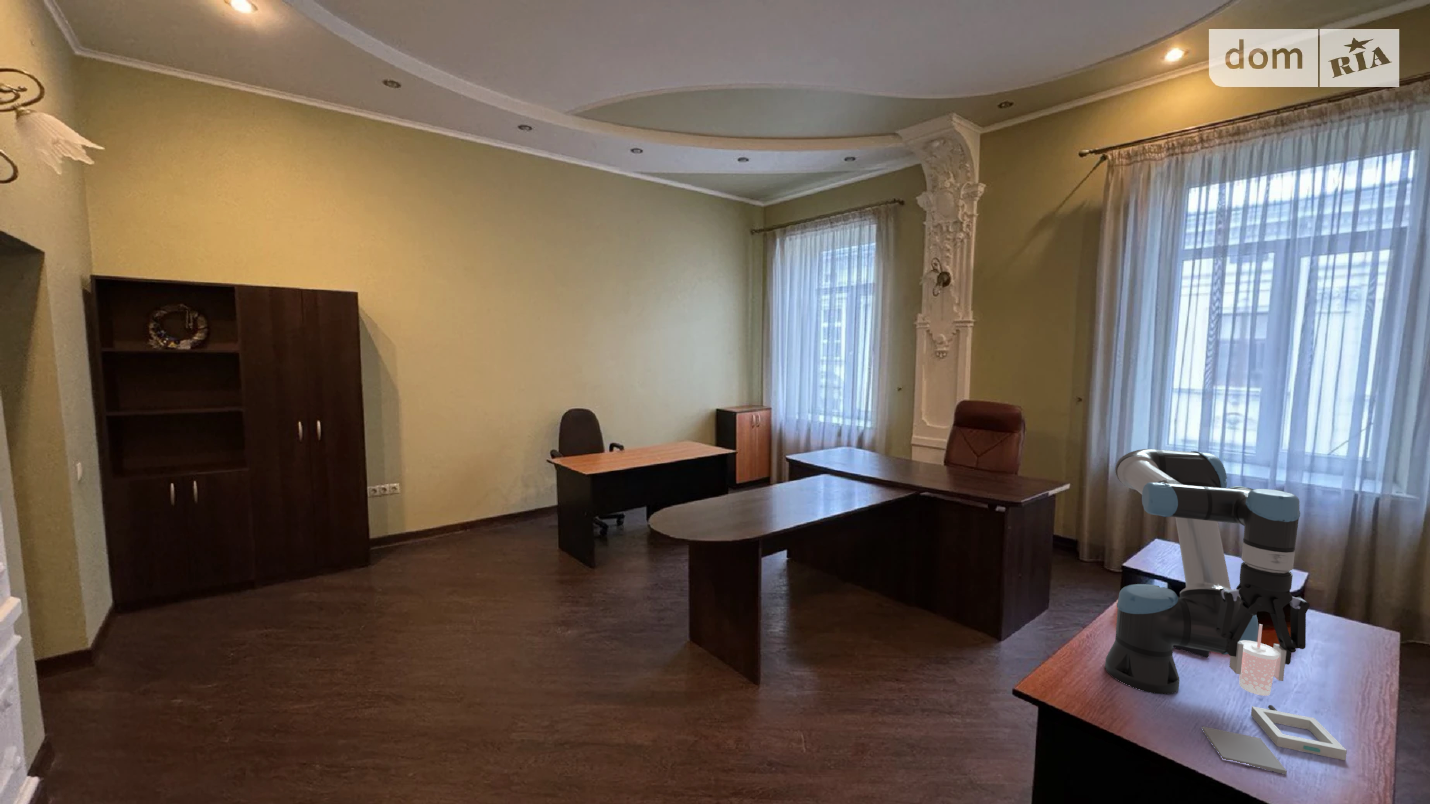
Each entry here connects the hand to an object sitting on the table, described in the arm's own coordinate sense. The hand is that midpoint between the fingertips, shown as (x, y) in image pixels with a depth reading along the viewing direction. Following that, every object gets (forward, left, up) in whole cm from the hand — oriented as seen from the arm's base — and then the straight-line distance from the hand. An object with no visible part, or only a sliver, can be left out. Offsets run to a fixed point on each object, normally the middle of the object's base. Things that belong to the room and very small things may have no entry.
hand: (1255, 673), depth 115 cm
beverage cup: (0, 0, -4) cm, 4 cm away
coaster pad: (-1, -1, -17) cm, 17 cm away
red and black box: (+5, +50, -18) cm, 53 cm away
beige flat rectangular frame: (+12, +11, -17) cm, 23 cm away
